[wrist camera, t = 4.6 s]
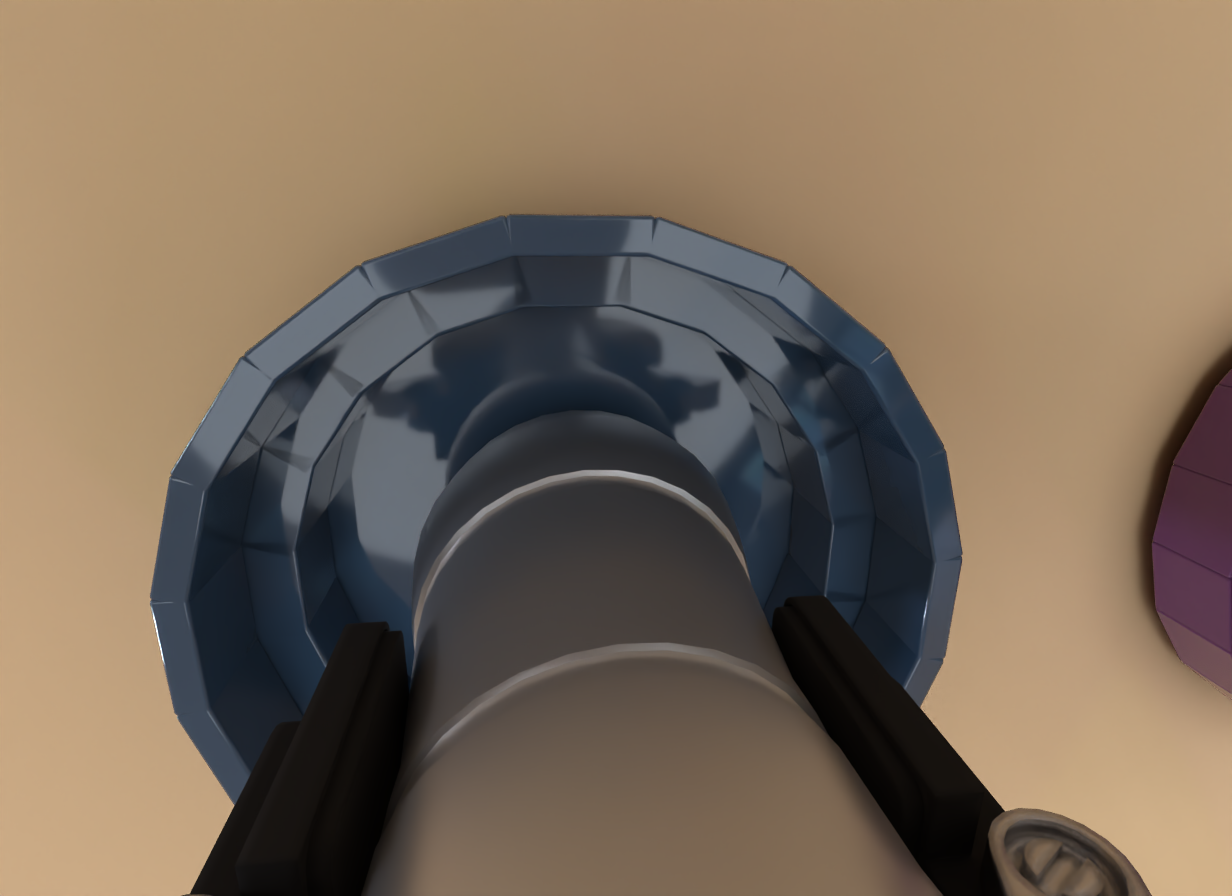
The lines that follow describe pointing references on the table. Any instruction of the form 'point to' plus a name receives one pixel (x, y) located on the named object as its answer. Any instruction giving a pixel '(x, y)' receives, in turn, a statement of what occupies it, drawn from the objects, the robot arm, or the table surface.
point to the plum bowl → (1199, 545)
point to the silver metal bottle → (611, 694)
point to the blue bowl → (510, 395)
